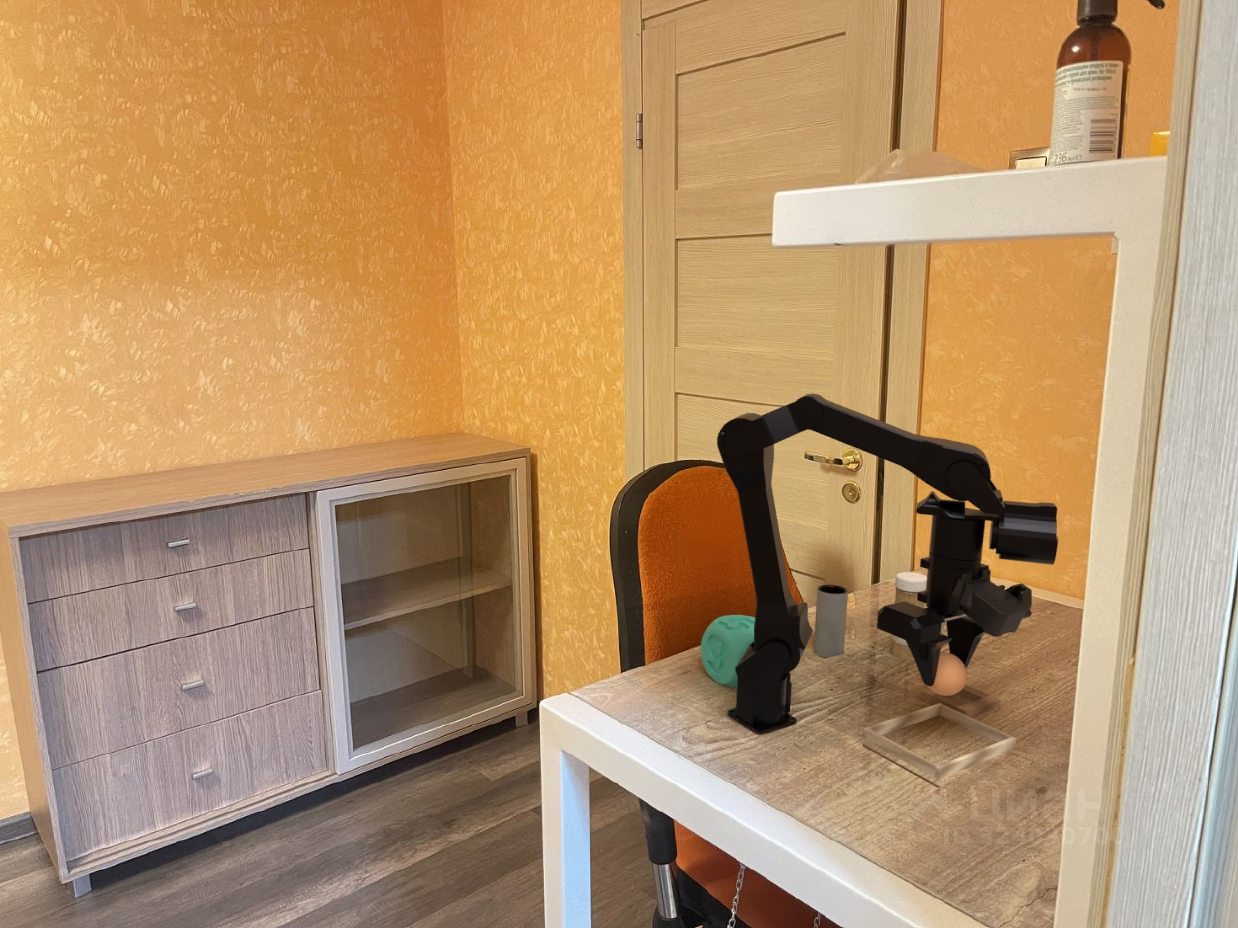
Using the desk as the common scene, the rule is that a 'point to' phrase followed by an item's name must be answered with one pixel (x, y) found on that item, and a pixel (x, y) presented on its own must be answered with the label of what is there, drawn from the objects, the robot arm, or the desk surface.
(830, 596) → the grey hollow cylinder
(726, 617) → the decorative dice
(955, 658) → the ball
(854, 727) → the desk surface
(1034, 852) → the desk surface
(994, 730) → the tray
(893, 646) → the sprinkles bottle
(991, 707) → the brown flat square frame
